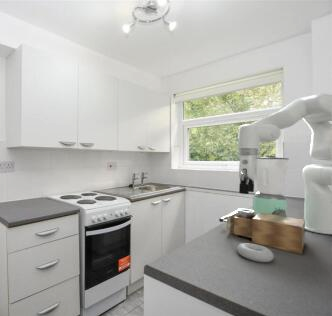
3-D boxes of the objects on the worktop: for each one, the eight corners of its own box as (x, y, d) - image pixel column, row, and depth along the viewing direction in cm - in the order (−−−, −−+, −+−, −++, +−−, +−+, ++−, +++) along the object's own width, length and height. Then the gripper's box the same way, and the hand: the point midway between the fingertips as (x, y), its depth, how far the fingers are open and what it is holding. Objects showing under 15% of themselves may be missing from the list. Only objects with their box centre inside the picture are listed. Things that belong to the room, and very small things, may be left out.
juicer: (298, 234, 98) (300, 156, 98) (267, 233, 99) (269, 155, 98) (266, 221, 117) (267, 156, 117) (240, 221, 118) (242, 156, 117)
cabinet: (251, 242, 88) (252, 218, 88) (259, 233, 98) (259, 212, 98) (301, 254, 78) (302, 227, 77) (304, 243, 88) (305, 219, 87)
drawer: (216, 231, 98) (216, 213, 98) (225, 225, 107) (226, 209, 107) (265, 242, 85) (266, 222, 85) (271, 234, 95) (271, 216, 95)
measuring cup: (239, 227, 100) (239, 208, 100) (255, 231, 96) (255, 210, 96) (235, 230, 96) (236, 210, 96) (252, 234, 92) (252, 212, 92)
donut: (279, 267, 68) (266, 253, 78) (279, 256, 68) (266, 243, 78) (242, 261, 71) (233, 248, 81) (242, 250, 71) (233, 239, 81)
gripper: (254, 152, 87) (252, 195, 87) (262, 154, 98) (261, 192, 99) (232, 152, 92) (231, 193, 92) (242, 153, 104) (241, 189, 104)
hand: (246, 192), depth 95 cm, fingers open, 9 cm apart
